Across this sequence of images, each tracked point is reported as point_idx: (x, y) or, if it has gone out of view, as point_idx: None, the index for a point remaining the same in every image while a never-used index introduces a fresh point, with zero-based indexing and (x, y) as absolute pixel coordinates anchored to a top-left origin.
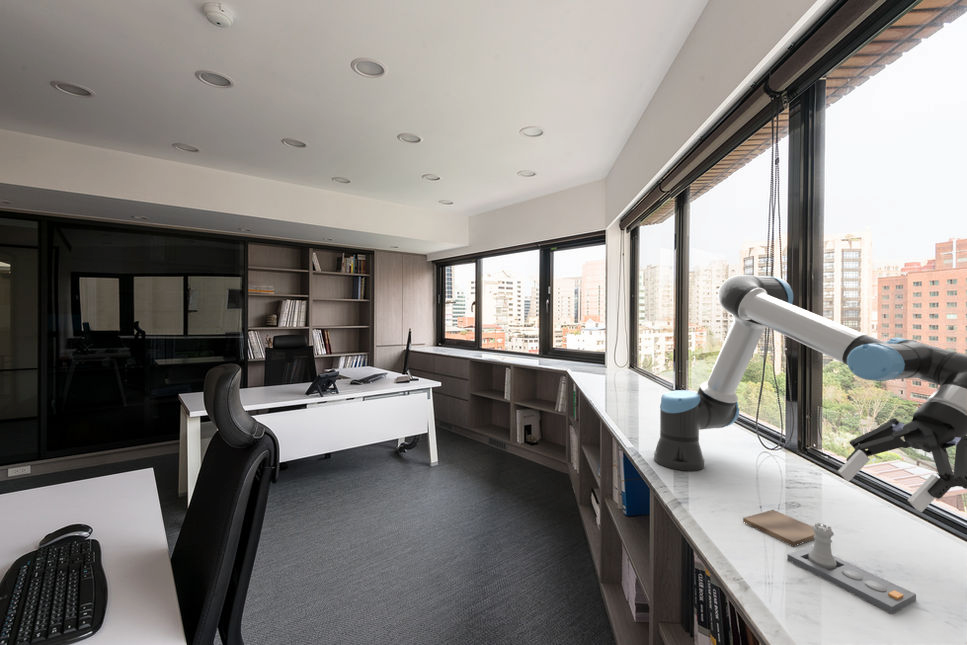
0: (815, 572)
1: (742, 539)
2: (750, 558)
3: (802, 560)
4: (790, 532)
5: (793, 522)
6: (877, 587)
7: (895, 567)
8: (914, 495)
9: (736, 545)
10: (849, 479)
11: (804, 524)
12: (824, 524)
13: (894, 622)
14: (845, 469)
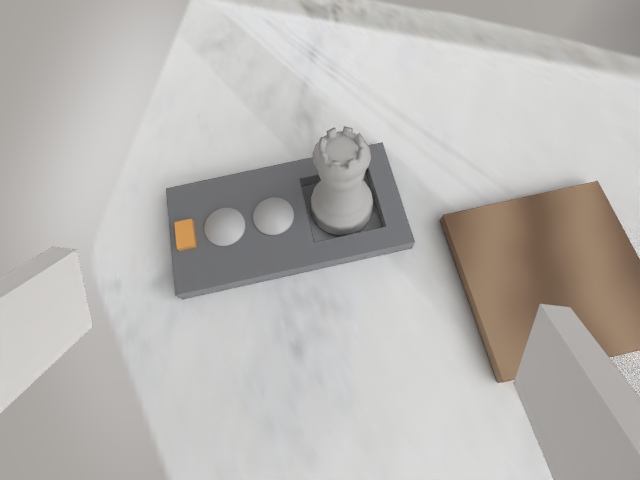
0: None
1: (485, 118)
2: (399, 79)
3: None
4: (498, 253)
5: None
6: (217, 221)
7: (300, 424)
8: (29, 269)
9: (456, 86)
10: (519, 386)
11: None
12: (352, 161)
13: (156, 176)
14: (555, 340)
